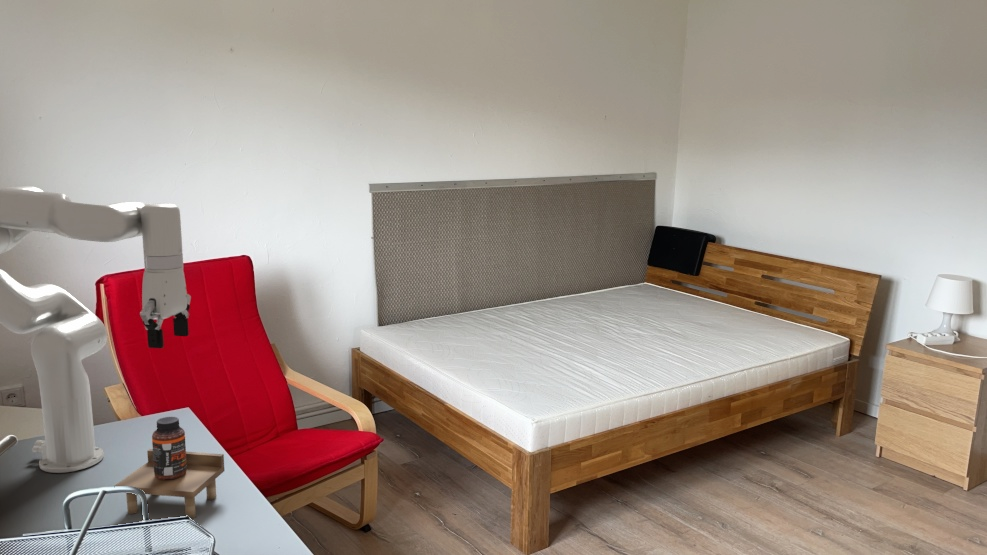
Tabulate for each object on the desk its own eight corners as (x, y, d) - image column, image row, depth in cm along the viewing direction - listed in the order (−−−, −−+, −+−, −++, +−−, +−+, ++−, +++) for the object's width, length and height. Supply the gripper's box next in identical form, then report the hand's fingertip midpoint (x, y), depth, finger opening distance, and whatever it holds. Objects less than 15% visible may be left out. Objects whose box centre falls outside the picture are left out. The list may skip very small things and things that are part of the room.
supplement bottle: (176, 482, 148) (172, 426, 146) (147, 479, 149) (143, 424, 147) (193, 469, 154) (190, 415, 152) (166, 467, 155) (162, 413, 153)
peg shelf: (116, 515, 147) (113, 473, 146) (153, 488, 159) (150, 448, 158) (195, 522, 145) (192, 480, 144) (225, 494, 157) (223, 454, 155)
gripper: (170, 256, 171) (174, 331, 174) (122, 269, 154) (128, 351, 157) (201, 257, 170) (206, 332, 173) (156, 270, 153) (162, 353, 156)
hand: (169, 341), depth 165 cm, fingers open, 9 cm apart
